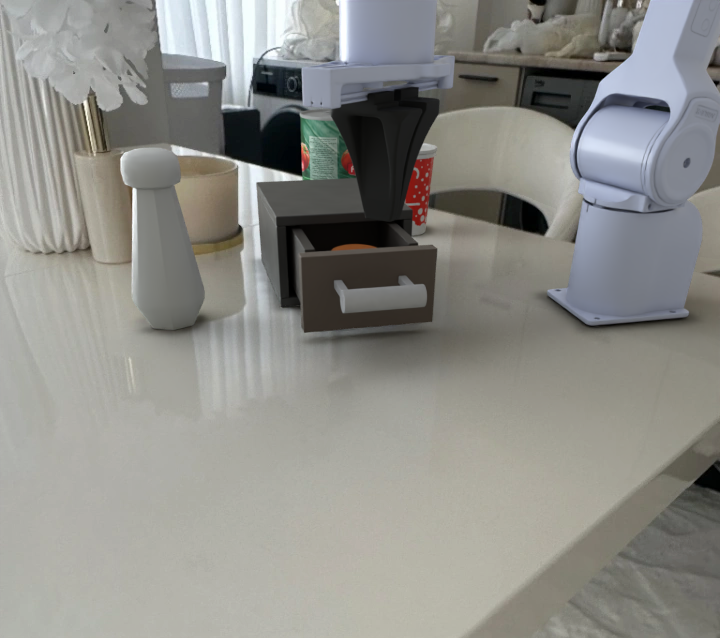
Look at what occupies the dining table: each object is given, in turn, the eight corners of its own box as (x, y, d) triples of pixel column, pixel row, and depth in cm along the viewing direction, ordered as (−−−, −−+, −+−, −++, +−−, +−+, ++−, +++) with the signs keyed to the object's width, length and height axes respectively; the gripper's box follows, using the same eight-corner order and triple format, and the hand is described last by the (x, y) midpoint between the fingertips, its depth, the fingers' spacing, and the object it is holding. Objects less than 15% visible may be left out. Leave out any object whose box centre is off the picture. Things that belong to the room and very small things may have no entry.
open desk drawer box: (409, 297, 64) (413, 209, 60) (280, 307, 62) (275, 216, 57) (371, 254, 75) (372, 177, 71) (261, 261, 73) (256, 181, 68)
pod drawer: (452, 344, 53) (458, 267, 50) (315, 357, 51) (312, 277, 48) (390, 273, 67) (392, 209, 64) (280, 281, 65) (276, 215, 61)
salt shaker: (191, 337, 56) (167, 158, 49) (124, 331, 57) (91, 155, 50) (218, 311, 61) (200, 145, 54) (155, 306, 62) (129, 142, 55)
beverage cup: (369, 232, 82) (371, 94, 74) (395, 221, 86) (400, 90, 79) (416, 240, 79) (423, 98, 72) (440, 228, 84) (450, 93, 76)
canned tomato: (370, 215, 89) (371, 116, 83) (307, 217, 87) (304, 117, 81) (358, 200, 95) (359, 108, 89) (299, 202, 94) (296, 109, 88)
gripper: (381, -35, 34) (375, 253, 41) (505, -26, 44) (482, 205, 51) (266, -33, 37) (280, 234, 45) (406, -25, 47) (398, 192, 55)
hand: (382, 218), depth 48 cm, fingers closed
